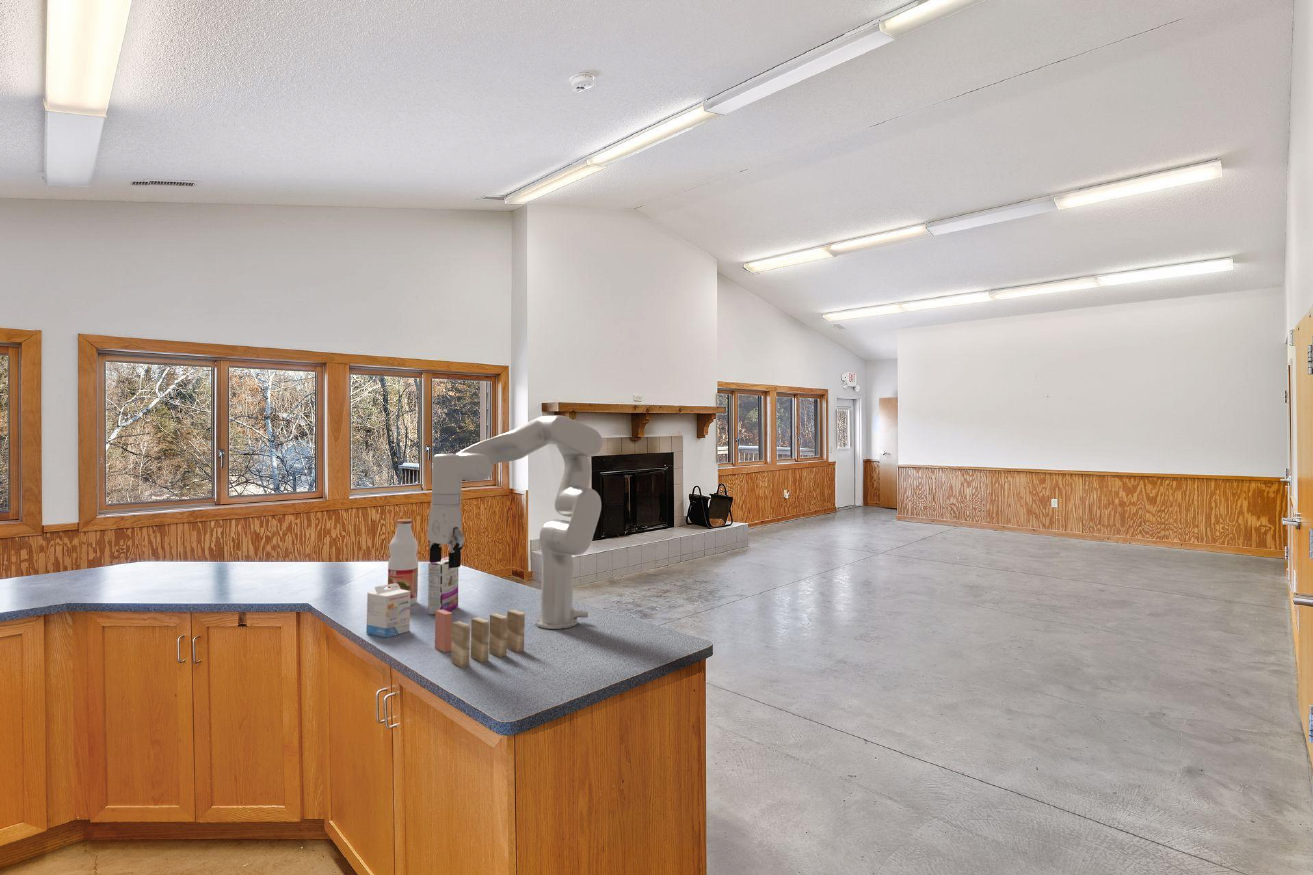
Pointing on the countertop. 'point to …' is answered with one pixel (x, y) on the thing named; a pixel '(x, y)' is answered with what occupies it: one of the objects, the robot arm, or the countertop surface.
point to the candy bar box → (442, 586)
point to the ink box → (388, 611)
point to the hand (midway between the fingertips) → (444, 564)
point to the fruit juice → (404, 559)
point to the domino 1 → (443, 630)
